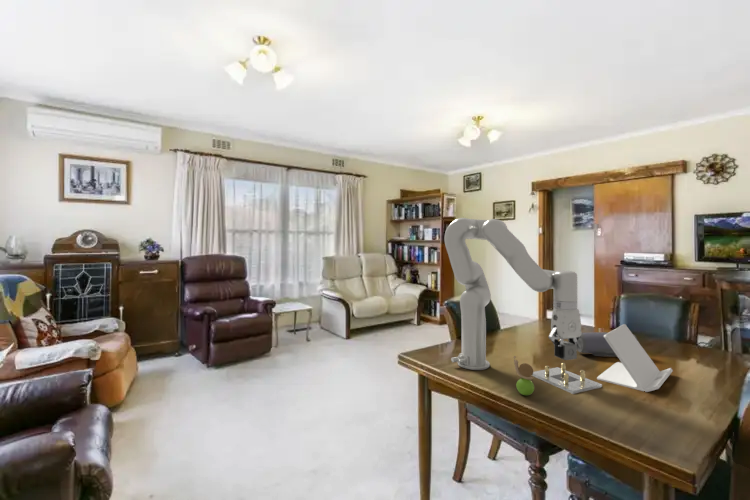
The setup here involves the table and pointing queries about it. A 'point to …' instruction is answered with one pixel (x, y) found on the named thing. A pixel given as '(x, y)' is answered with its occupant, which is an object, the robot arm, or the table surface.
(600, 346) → the bluetooth speaker
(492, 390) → the table surface
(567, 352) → the dice cube
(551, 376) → the chassis plate
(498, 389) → the table surface
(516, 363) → the snail figurine
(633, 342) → the tablet stand
